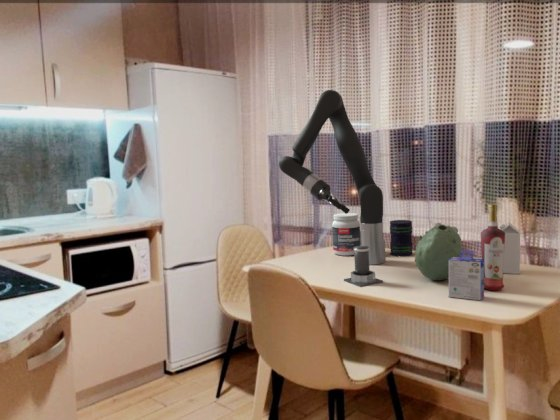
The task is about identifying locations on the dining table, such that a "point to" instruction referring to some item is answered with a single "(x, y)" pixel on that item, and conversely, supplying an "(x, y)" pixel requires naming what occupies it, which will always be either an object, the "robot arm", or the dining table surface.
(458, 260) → the ink cartridge box
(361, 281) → the grey ring on plate
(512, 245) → the milk carton
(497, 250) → the liquor
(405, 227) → the storage jar
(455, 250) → the green bumpy vase
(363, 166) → the robot arm
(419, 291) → the dining table surface
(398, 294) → the dining table surface
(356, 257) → the tube
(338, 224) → the supplement tub
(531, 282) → the dining table surface
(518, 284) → the dining table surface
